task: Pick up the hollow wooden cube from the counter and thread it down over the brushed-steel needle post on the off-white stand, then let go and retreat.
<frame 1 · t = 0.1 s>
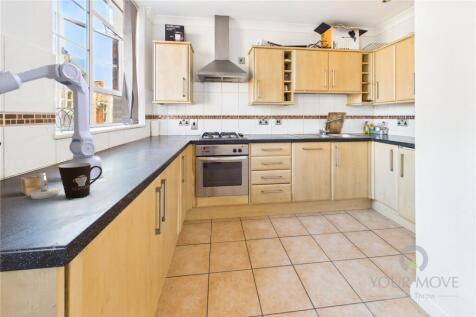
coffee mug: (83, 196, 83), on the counter
hollow wooden cube: (34, 192, 86), on the counter
needle post: (43, 181, 82), on the lacing stand, point 4 cm above the counter
lacing stand: (45, 195, 82), on the counter
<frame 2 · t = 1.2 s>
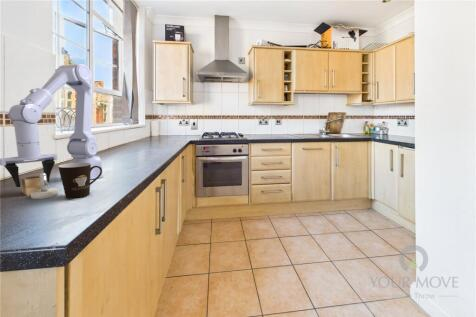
hand: (33, 184, 85), 3 cm above the counter, fingers open, 7 cm apart
nothing on the counter moved.
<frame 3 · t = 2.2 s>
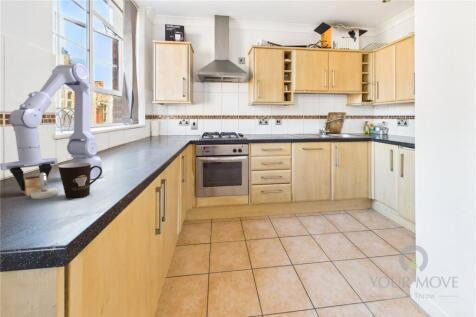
hand: (33, 188, 86), 1 cm above the counter, fingers closed on hollow wooden cube, 5 cm apart
hollow wooden cube: (34, 192, 86), on the counter, touching gripper
everything else where it was.
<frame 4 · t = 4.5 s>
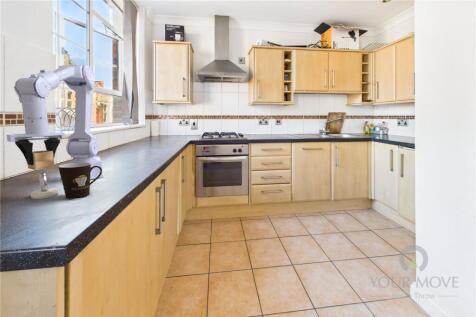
hand: (41, 163, 81), 10 cm above the counter, fingers closed on hollow wooden cube, 5 cm apart
hollow wooden cube: (41, 167, 81), point 9 cm above the counter, touching gripper
everything else where it was.
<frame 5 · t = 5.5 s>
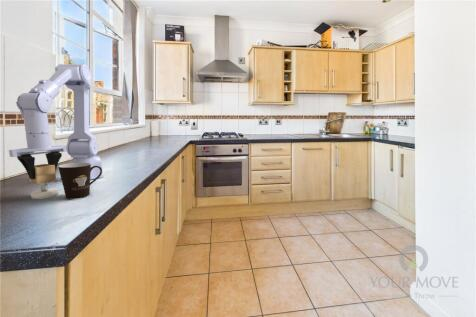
hand: (42, 176, 81), 6 cm above the counter, fingers closed on hollow wooden cube, 5 cm apart
hollow wooden cube: (43, 181, 82), point 5 cm above the counter, touching gripper
everything else where it was.
when the fingers open (6 cm above the counter, at t = 6.5 s): hollow wooden cube drops 3 cm, resting on lacing stand.
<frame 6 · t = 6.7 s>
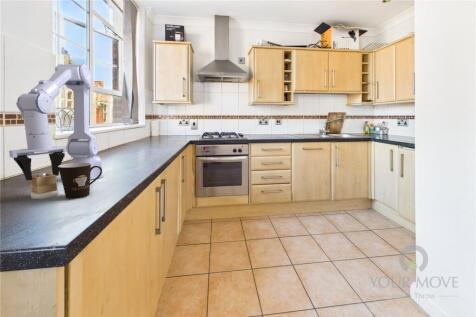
hand: (42, 177, 81), 6 cm above the counter, fingers open, 7 cm apart
hollow wooden cube: (44, 191, 82), point 1 cm above the counter, touching lacing stand
everything else where it was.
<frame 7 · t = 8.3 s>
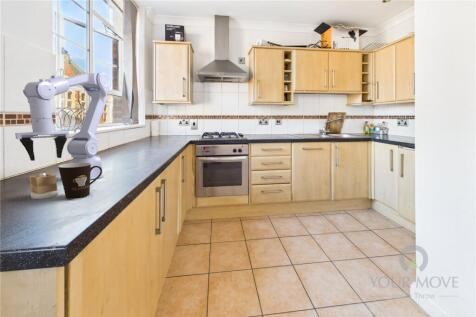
hand: (46, 159, 89), 10 cm above the counter, fingers open, 7 cm apart
nothing on the counter moved.
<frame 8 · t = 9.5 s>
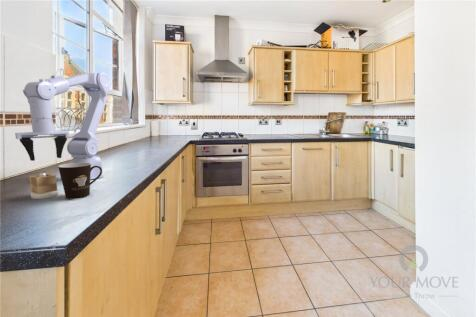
hand: (46, 159, 89), 10 cm above the counter, fingers open, 7 cm apart
nothing on the counter moved.
at the end: hollow wooden cube 0.1 cm off-centre on the needle post, point 1.5 cm above the needle post's base; hollow wooden cube tilted 0°; the gripper is holding nothing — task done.
